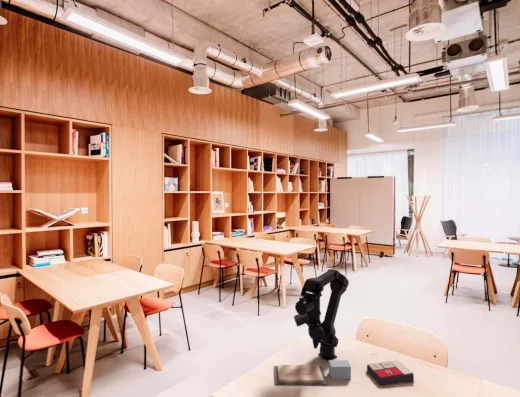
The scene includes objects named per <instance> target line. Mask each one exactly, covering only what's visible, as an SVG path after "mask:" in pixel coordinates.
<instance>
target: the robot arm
mask: <svg viewBox="0 0 520 397" xmlns="http://www.w3.org/2000/svg"><path fill="white" fill-rule="evenodd" d="M349 283H350V282H349V280H348V278H347V276H346V275H344V274H342V273H341V272H340V271H339V270H337V269H331V268H329V269H328V270H327V271H326V272H324V273H322V274H320V275H318V276H317V277H310V278H306V280H305V281H304V283H303V286H302V290H301V292H300V297H299V298H298V299H299V300H297V302H296V303H295V306H294V309H295V312H296V313H297V314H295V315H294V316H293V319H294V322H295V325H296V327H301V326H303V325H306V326H307V327H308V328H307V331H308V332H307V333H308V335H309V337H310V339H311V340H312V344H313V345H312V346H313V349H314V350H315V349H317V348H318V346H319V353H318V354H317V355H318V356H319V357H321V358H322V359H323V360H325V361H327V362H329V360H335V359H337V358H338V356H337V354H336V352H335V350H336V348H337V347H338V344H339V338H338V337H337V336H336V333H337V332H336V328H335V321H336V317H337V312H338V309H339V306H340V301H341V298H342V295H344V293H345V292H346V291H347V288H348V287H349ZM328 284H329V288H330V291H331V292H330V296H329V300H328V303H327V307H326V312H325V315H324V318H323V321H321V315H322V312H321V297H322V296H323V294H322V292H323V291H324V287H325V286H327V285H328ZM319 344H320V345H319Z"/></svg>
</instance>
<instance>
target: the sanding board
mask: <svg viewBox="0 0 520 397" xmlns="http://www.w3.org/2000/svg"><path fill="white" fill-rule="evenodd" d="M273 367H274V368H273V369H274V370H273V371H274V383H275V386H328V384H329V383H328V381H327V378H326V375H325V371H324V369H323V366H322V365H319V364H277V365H274V366H273Z"/></svg>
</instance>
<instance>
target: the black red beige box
mask: <svg viewBox="0 0 520 397" xmlns="http://www.w3.org/2000/svg"><path fill="white" fill-rule="evenodd" d="M366 372H367V373H368V374H369V375H370V376H371V377H372V378H373V380H374V381H375V382H377V384H378V385H379V386H381V387H382V386H383V387H384V386H390V385H398V384H409V383H414V382H415V377H414V376H415V375H414V373H413V372H412V371H411V370H410V369H409V368H408V367H406V366H405V365H404V364H403V363H402V362H401V361H400V360H398V359H397V360H396V359H395V360H391V361H390V360H388V361H387V360H386V361H380V362H373V363H369V364H366Z"/></svg>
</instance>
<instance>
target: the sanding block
mask: <svg viewBox="0 0 520 397" xmlns="http://www.w3.org/2000/svg"><path fill="white" fill-rule="evenodd" d="M351 369H352V367H351V364H350V362H349V361H348V360H347V359H346V360H345V359H344V360H343V359H339V360H337V359H336V360H335V359H331V360H329V361H328V374H329V377H330V379H331V380H332V381H333V380H335V381H336V380H343V381H344V380H351V378H352V370H351Z"/></svg>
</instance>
